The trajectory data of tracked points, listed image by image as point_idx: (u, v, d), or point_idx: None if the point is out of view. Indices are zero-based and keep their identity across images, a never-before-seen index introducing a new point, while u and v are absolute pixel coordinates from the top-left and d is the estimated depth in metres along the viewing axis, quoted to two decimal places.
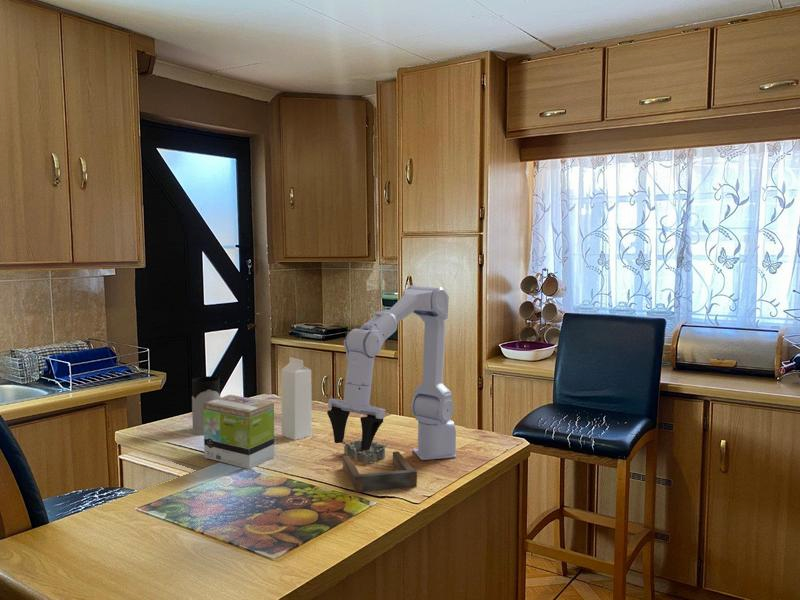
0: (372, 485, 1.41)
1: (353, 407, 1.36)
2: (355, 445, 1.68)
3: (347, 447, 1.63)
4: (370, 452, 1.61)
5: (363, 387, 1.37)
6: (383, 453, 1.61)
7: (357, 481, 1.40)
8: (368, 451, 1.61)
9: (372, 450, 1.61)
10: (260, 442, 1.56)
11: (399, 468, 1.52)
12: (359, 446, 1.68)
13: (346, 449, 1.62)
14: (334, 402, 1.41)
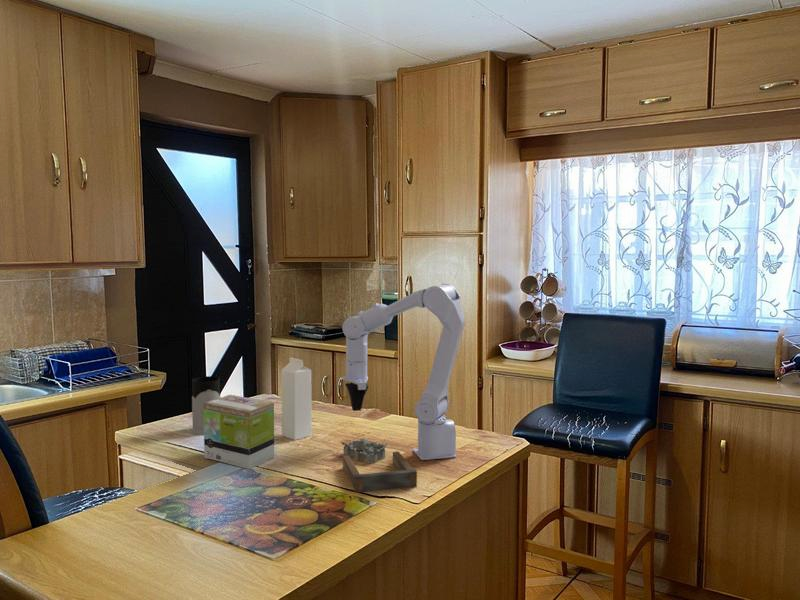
0: (372, 485, 1.41)
1: (347, 379, 1.70)
2: (353, 445, 1.68)
3: (347, 447, 1.62)
4: (370, 452, 1.61)
5: (353, 363, 1.68)
6: (383, 452, 1.62)
7: (357, 481, 1.40)
8: (368, 451, 1.61)
9: (372, 450, 1.61)
10: (260, 442, 1.56)
11: (399, 468, 1.52)
12: (357, 446, 1.68)
13: (346, 450, 1.62)
14: None
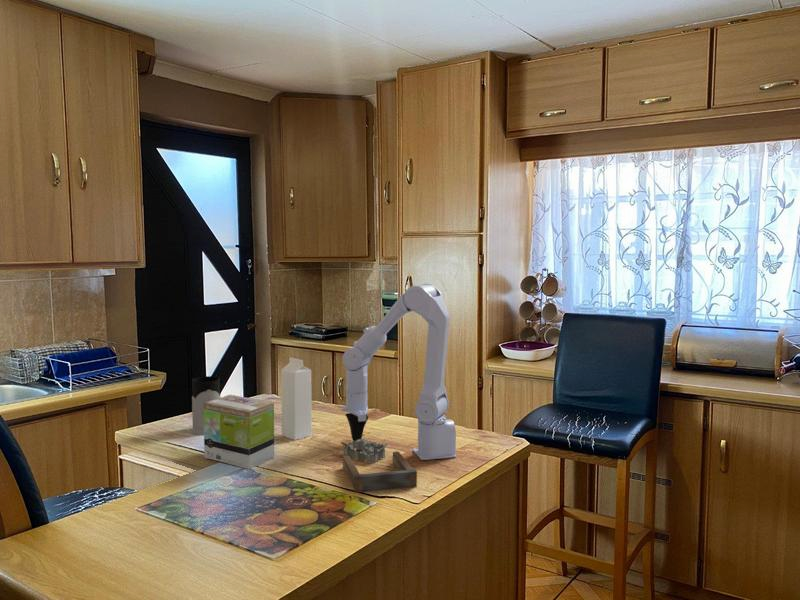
0: (372, 485, 1.41)
1: (347, 410, 1.70)
2: (353, 445, 1.67)
3: (347, 448, 1.62)
4: (370, 452, 1.61)
5: (353, 395, 1.69)
6: (383, 452, 1.62)
7: (357, 481, 1.40)
8: (368, 451, 1.61)
9: (372, 450, 1.61)
10: (260, 442, 1.56)
11: (399, 468, 1.52)
12: (357, 446, 1.68)
13: (346, 450, 1.62)
14: None
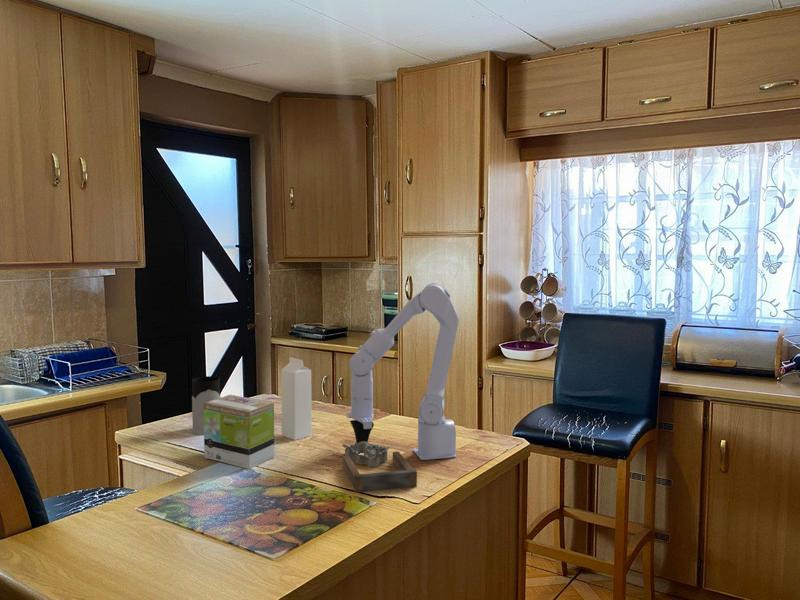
0: (372, 485, 1.41)
1: (352, 417, 1.64)
2: (355, 448, 1.65)
3: (348, 450, 1.60)
4: (372, 455, 1.58)
5: (358, 401, 1.63)
6: (385, 455, 1.59)
7: (357, 481, 1.40)
8: (370, 454, 1.58)
9: (374, 453, 1.59)
10: (260, 442, 1.56)
11: (399, 468, 1.52)
12: (359, 449, 1.65)
13: (347, 452, 1.59)
14: None
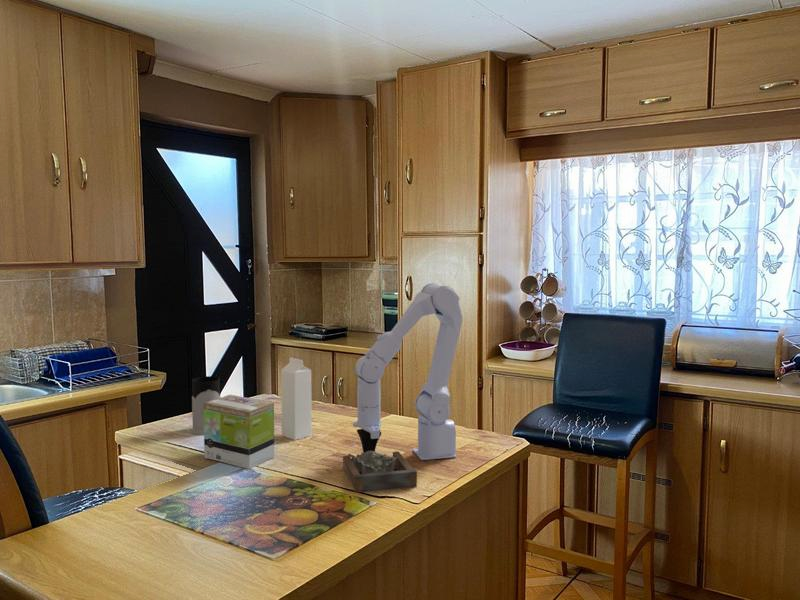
0: (372, 485, 1.41)
1: (359, 426, 1.56)
2: (362, 457, 1.58)
3: (354, 460, 1.52)
4: (379, 465, 1.51)
5: (365, 409, 1.55)
6: (393, 466, 1.51)
7: (357, 481, 1.40)
8: (377, 464, 1.51)
9: (381, 463, 1.51)
10: (260, 442, 1.56)
11: (399, 468, 1.52)
12: (366, 458, 1.58)
13: (353, 462, 1.52)
14: None
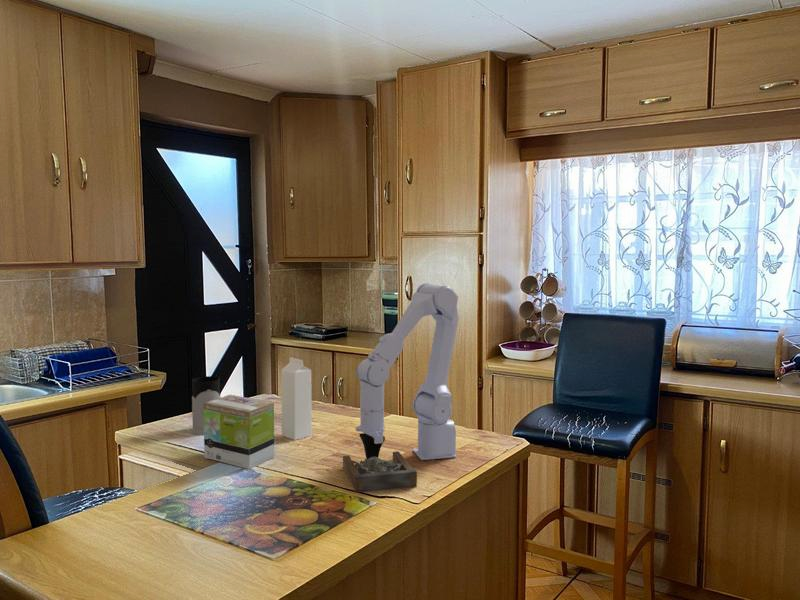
0: (372, 485, 1.41)
1: (362, 430, 1.53)
2: (365, 464, 1.53)
3: (358, 467, 1.48)
4: None
5: (369, 413, 1.52)
6: None
7: (357, 481, 1.40)
8: (381, 471, 1.47)
9: (385, 470, 1.47)
10: (260, 442, 1.56)
11: (399, 468, 1.52)
12: (369, 465, 1.54)
13: (357, 469, 1.48)
14: None
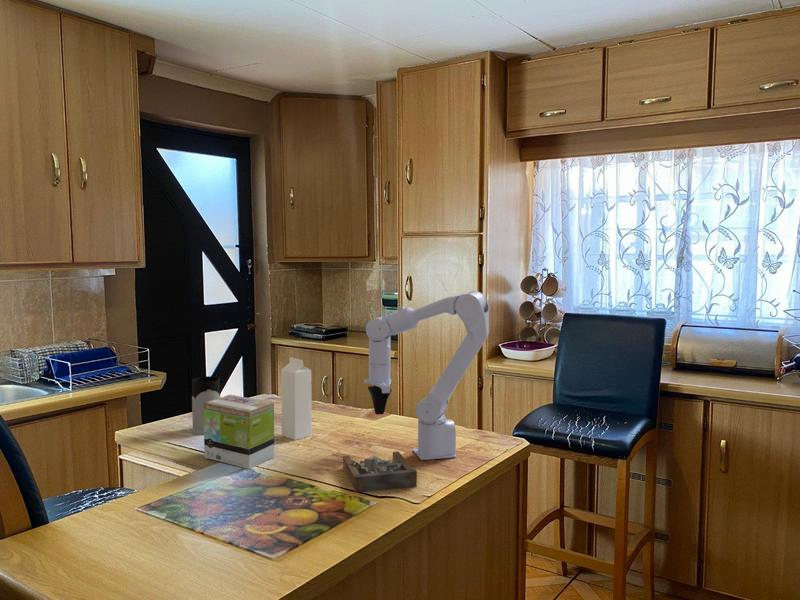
0: (372, 485, 1.41)
1: (370, 382, 1.66)
2: (365, 464, 1.54)
3: (357, 466, 1.48)
4: None
5: (376, 366, 1.64)
6: None
7: (357, 481, 1.40)
8: (381, 471, 1.47)
9: (385, 469, 1.47)
10: (260, 442, 1.56)
11: (399, 468, 1.52)
12: (369, 465, 1.54)
13: None
14: None
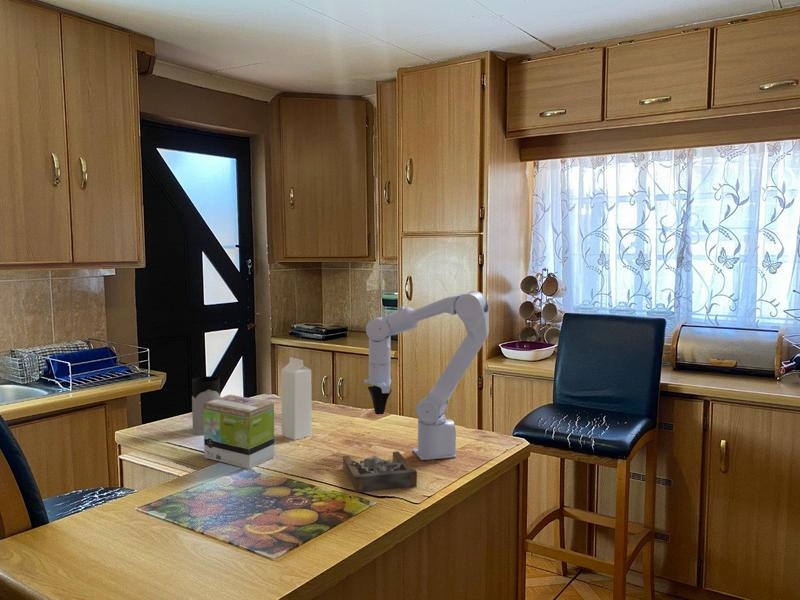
0: (372, 485, 1.41)
1: (370, 382, 1.66)
2: (365, 463, 1.54)
3: (357, 466, 1.49)
4: None
5: (376, 366, 1.64)
6: None
7: (357, 481, 1.40)
8: (381, 470, 1.47)
9: (385, 469, 1.48)
10: (260, 442, 1.56)
11: (399, 468, 1.52)
12: (369, 464, 1.54)
13: None
14: None
